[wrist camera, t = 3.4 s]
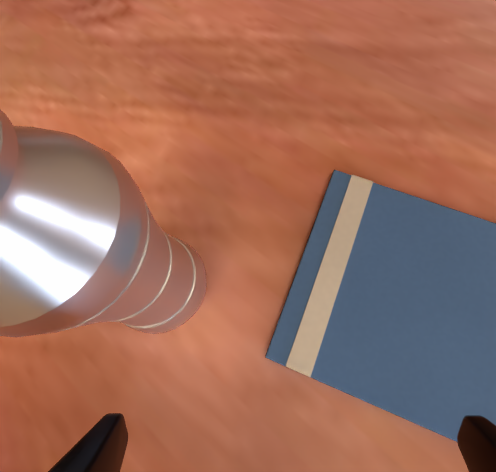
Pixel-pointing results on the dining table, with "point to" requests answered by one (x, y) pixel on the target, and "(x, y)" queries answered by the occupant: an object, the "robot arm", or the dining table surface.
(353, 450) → the dining table surface
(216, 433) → the dining table surface
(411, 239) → the towel
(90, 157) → the plastic bottle
